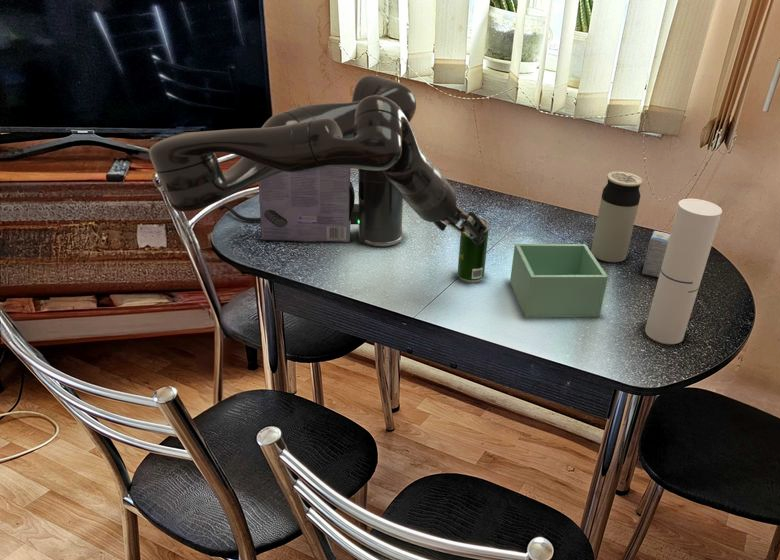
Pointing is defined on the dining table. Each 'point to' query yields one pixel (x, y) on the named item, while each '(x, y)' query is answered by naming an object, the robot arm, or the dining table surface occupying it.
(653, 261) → the medicine box
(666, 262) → the cylindrical container
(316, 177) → the cake pan box
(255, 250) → the dining table surface
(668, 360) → the dining table surface
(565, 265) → the bin
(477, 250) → the beer can
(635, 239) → the dining table surface
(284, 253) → the dining table surface
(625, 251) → the travel mug
